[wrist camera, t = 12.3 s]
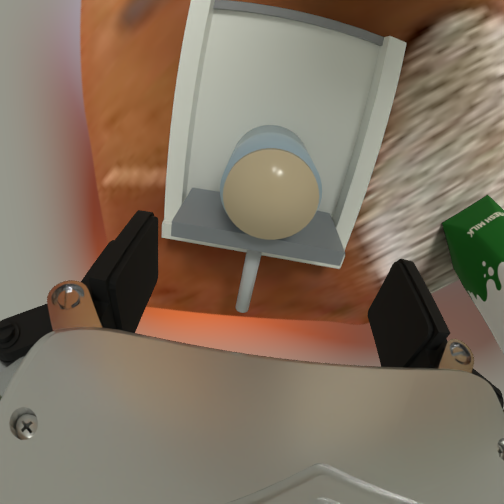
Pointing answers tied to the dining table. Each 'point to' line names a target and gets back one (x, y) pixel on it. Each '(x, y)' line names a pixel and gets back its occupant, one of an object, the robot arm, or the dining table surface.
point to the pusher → (253, 238)
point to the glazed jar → (270, 184)
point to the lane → (280, 100)
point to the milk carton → (480, 259)
